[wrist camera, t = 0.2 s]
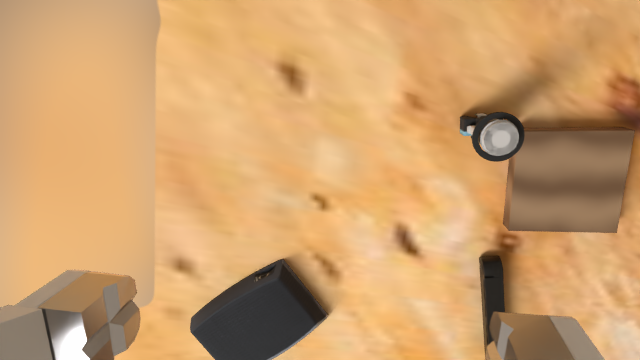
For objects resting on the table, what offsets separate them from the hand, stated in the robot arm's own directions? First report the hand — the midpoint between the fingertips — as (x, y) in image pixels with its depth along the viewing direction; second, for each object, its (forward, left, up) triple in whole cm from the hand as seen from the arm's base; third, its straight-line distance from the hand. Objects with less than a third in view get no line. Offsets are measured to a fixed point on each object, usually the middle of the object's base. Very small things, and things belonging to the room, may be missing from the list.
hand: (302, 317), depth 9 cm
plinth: (+10, +26, -47) cm, 55 cm away
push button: (+3, +16, -48) cm, 50 cm away
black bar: (+30, +19, -48) cm, 59 cm away
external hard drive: (+33, -16, -48) cm, 61 cm away
